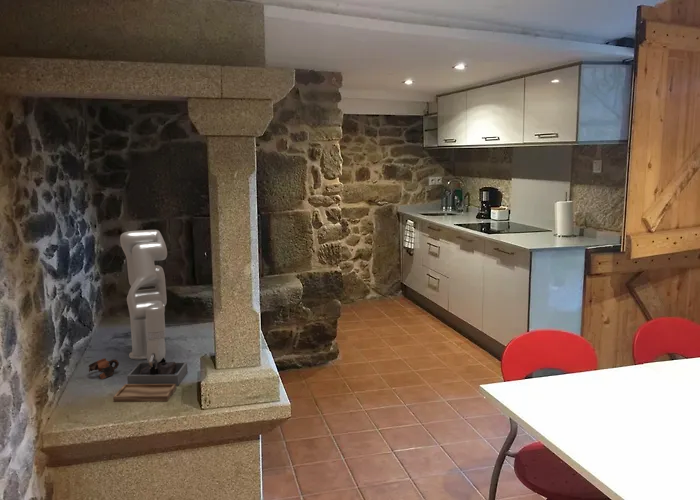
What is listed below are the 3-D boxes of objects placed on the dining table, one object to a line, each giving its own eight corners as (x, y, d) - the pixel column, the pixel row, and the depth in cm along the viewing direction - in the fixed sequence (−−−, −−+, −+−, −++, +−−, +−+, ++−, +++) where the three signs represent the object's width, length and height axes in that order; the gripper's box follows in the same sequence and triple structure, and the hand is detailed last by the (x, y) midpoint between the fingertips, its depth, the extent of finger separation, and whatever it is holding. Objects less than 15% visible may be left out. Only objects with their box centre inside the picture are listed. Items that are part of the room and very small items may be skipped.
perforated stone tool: (139, 383, 232) (138, 367, 230) (140, 378, 237) (139, 362, 236) (176, 379, 235) (175, 364, 234) (177, 375, 240) (176, 359, 239)
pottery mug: (94, 382, 233) (86, 365, 233) (93, 384, 241) (86, 367, 241) (123, 369, 239) (115, 352, 240) (121, 372, 247) (113, 355, 248)
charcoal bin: (140, 372, 243) (139, 362, 242) (187, 371, 243) (187, 362, 242) (127, 385, 228) (127, 375, 228) (178, 385, 229) (177, 375, 228)
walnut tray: (125, 388, 226) (125, 384, 225) (176, 388, 226) (175, 383, 226) (113, 401, 214) (113, 396, 214) (167, 401, 214) (167, 396, 214)
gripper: (153, 328, 241) (156, 365, 243) (139, 341, 224) (142, 381, 226) (171, 328, 241) (173, 365, 244) (158, 340, 224) (160, 381, 227)
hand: (158, 373), depth 235 cm, fingers open, 9 cm apart
